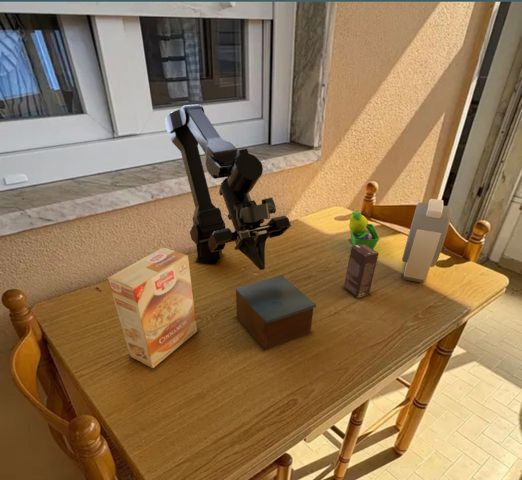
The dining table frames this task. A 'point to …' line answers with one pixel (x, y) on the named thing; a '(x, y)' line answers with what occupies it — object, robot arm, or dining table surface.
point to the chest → (273, 325)
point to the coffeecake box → (155, 305)
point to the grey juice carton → (425, 239)
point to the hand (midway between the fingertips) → (262, 269)
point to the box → (360, 270)
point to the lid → (275, 298)
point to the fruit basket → (362, 231)
